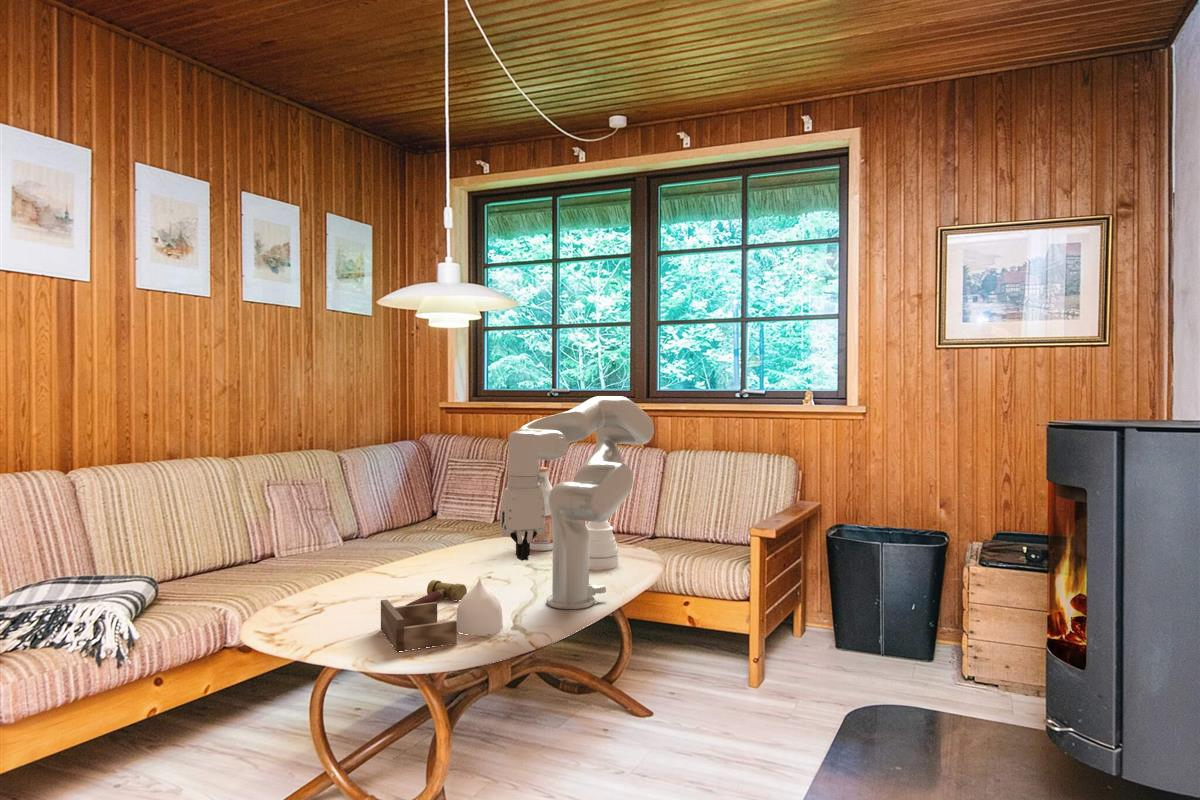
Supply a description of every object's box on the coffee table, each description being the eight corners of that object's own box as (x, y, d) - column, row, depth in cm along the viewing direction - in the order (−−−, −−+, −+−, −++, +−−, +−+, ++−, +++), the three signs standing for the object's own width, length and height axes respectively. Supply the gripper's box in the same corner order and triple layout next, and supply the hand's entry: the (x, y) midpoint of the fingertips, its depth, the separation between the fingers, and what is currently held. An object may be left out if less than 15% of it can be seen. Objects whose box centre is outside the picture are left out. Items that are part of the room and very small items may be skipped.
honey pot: (577, 560, 257) (577, 504, 256) (617, 560, 257) (617, 504, 257) (577, 569, 244) (578, 511, 243) (619, 569, 244) (619, 511, 244)
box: (436, 622, 189) (436, 593, 189) (456, 644, 174) (456, 612, 174) (380, 630, 183) (380, 600, 183) (396, 652, 168) (396, 620, 168)
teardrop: (460, 621, 191) (460, 571, 190) (506, 621, 191) (506, 572, 190) (451, 636, 180) (451, 583, 179) (500, 636, 180) (500, 584, 179)
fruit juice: (522, 547, 275) (522, 467, 274) (545, 544, 281) (545, 465, 280) (537, 552, 267) (537, 469, 267) (560, 549, 273) (560, 468, 273)
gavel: (415, 607, 192) (383, 601, 196) (415, 625, 192) (384, 619, 197) (466, 582, 210) (436, 577, 215) (467, 599, 211) (437, 594, 215)
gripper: (546, 480, 196) (545, 554, 196) (488, 482, 189) (487, 558, 189) (558, 483, 189) (557, 560, 189) (499, 485, 182) (498, 565, 183)
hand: (522, 559), depth 189 cm, fingers closed
